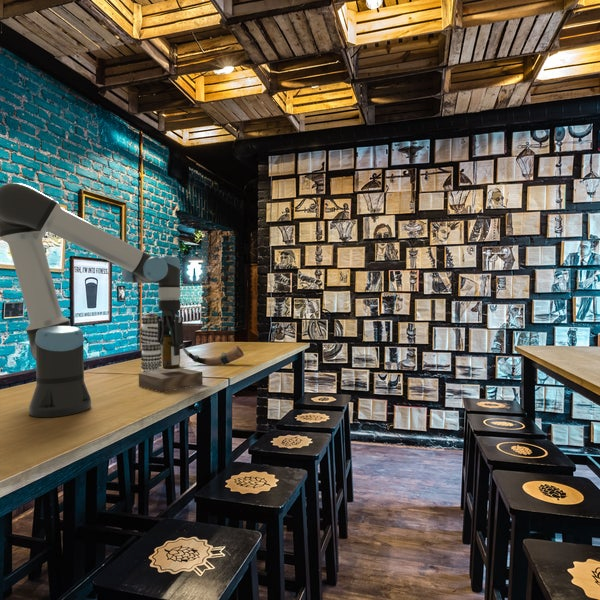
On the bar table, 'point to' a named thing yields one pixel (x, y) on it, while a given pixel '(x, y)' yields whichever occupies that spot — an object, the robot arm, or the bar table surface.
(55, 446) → the bar table surface
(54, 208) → the robot arm
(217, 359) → the drinking horn
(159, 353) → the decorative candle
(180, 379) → the block
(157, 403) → the bar table surface
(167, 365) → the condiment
